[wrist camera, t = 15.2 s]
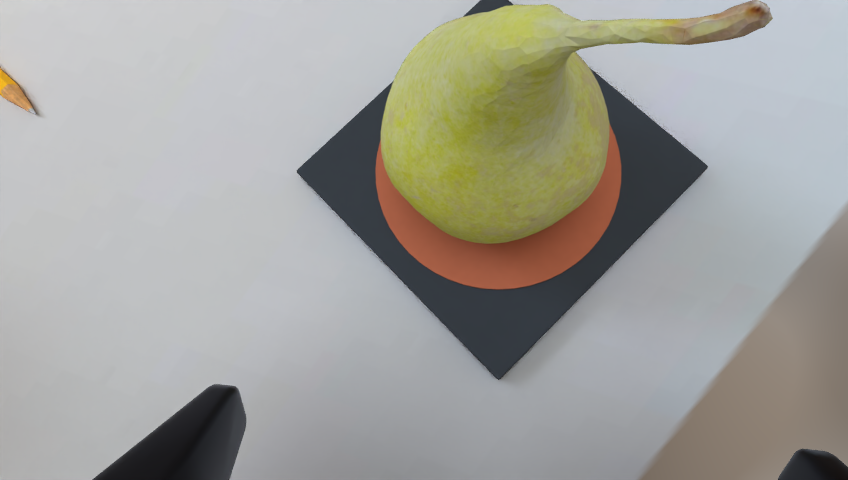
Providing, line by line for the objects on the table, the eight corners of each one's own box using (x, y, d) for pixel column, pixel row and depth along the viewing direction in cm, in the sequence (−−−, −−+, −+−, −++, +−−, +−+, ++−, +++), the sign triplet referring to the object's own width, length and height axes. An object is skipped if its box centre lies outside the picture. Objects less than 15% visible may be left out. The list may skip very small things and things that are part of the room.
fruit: (441, 63, 21) (411, -305, 9) (623, 134, 20) (859, -183, 8) (367, 212, 20) (223, 15, 8) (554, 296, 19) (706, 209, 7)
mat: (702, 171, 20) (710, 165, 19) (497, 379, 19) (498, 380, 18) (493, -4, 22) (493, -15, 21) (300, 175, 21) (294, 169, 20)
